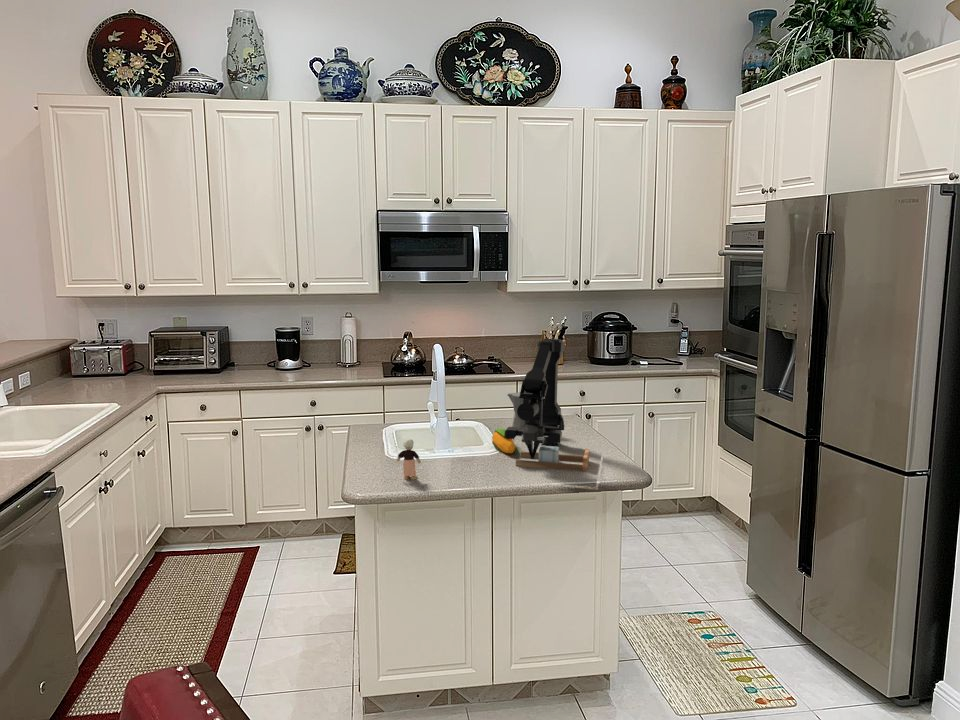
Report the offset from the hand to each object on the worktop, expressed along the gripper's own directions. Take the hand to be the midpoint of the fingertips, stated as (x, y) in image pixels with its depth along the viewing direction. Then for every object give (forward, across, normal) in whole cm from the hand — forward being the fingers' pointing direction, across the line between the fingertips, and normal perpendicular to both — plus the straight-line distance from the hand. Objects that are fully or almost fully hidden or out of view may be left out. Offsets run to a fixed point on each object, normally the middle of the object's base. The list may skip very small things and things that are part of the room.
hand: (532, 459), depth 240 cm
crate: (+1, +5, 0) cm, 5 cm away
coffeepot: (+2, -9, +41) cm, 42 cm away
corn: (+2, -12, +12) cm, 17 cm away
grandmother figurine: (+2, -36, -24) cm, 43 cm away
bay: (+2, +6, 0) cm, 6 cm away
